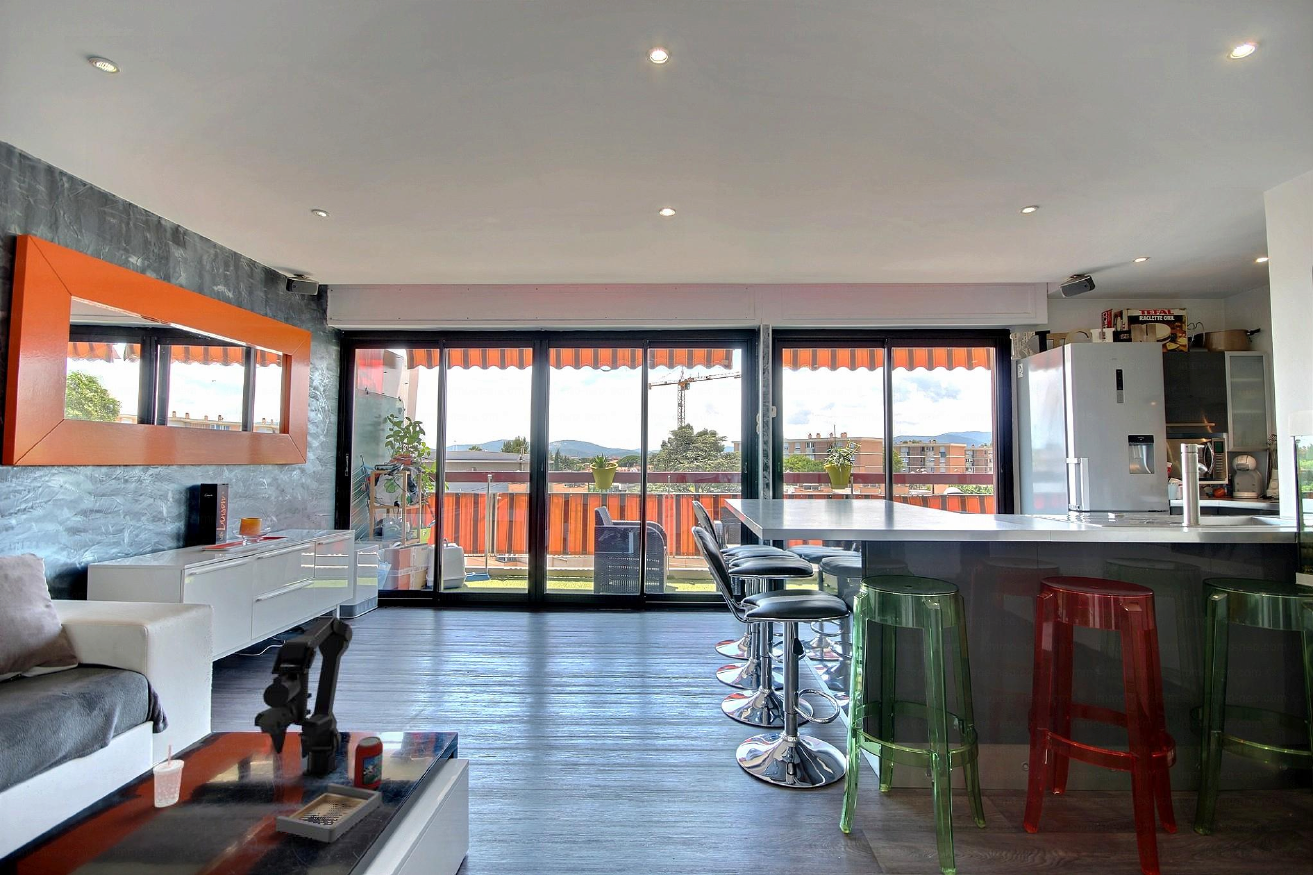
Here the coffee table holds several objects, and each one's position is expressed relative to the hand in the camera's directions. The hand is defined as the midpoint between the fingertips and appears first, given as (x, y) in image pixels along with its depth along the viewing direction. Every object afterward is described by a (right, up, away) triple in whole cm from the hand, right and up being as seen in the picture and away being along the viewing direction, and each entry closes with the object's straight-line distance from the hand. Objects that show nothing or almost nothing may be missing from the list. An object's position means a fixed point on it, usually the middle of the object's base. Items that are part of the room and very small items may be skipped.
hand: (291, 755), depth 153 cm
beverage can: (+14, -14, +11) cm, 22 cm away
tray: (+11, -14, -3) cm, 18 cm away
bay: (+11, -13, -4) cm, 18 cm away
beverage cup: (-32, -12, +1) cm, 34 cm away
